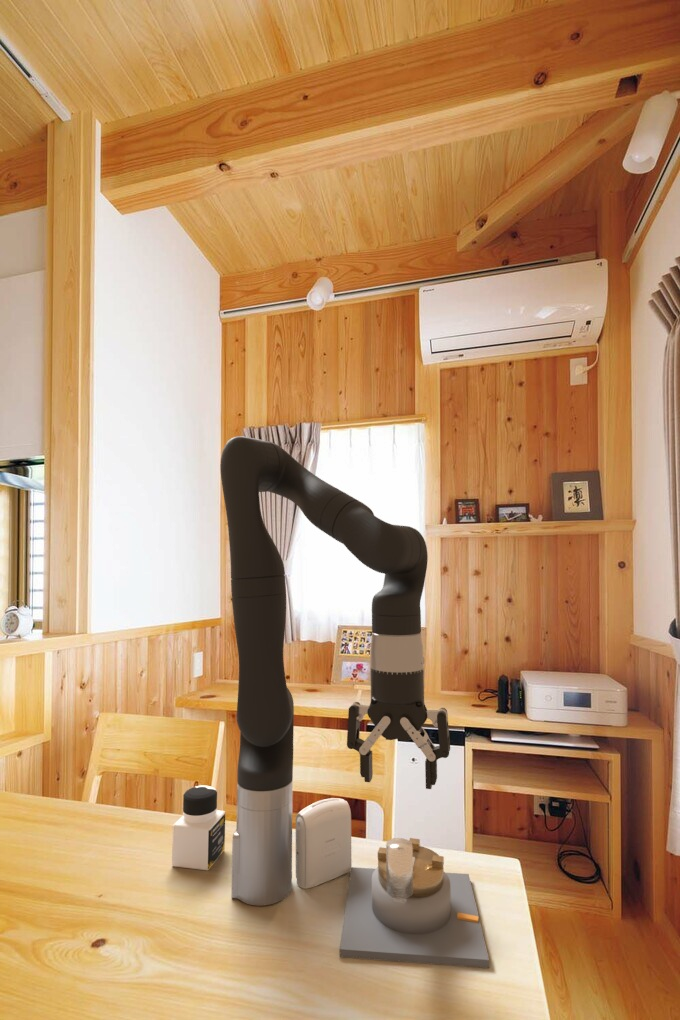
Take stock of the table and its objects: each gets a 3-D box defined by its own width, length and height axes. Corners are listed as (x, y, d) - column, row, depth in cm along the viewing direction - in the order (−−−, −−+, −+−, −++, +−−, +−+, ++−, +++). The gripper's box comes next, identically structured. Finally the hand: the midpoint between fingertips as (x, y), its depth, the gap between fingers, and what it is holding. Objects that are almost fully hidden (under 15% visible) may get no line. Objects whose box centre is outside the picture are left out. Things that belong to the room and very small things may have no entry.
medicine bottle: (208, 871, 94) (210, 799, 95) (171, 867, 96) (173, 796, 97) (225, 850, 101) (226, 783, 102) (190, 846, 103) (191, 780, 104)
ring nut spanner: (384, 856, 89) (384, 795, 90) (446, 865, 87) (445, 802, 88) (361, 920, 73) (361, 846, 74) (435, 934, 71) (434, 856, 71)
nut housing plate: (339, 957, 74) (339, 917, 74) (351, 873, 94) (351, 842, 94) (489, 968, 72) (488, 927, 72) (468, 880, 92) (468, 849, 92)
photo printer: (304, 893, 88) (304, 813, 89) (291, 880, 92) (291, 804, 93) (355, 873, 94) (355, 798, 95) (341, 861, 97) (341, 789, 99)
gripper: (341, 667, 75) (342, 789, 74) (445, 672, 71) (448, 801, 70) (354, 658, 82) (355, 768, 81) (449, 662, 79) (452, 778, 77)
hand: (398, 783), depth 75 cm, fingers open, 8 cm apart
